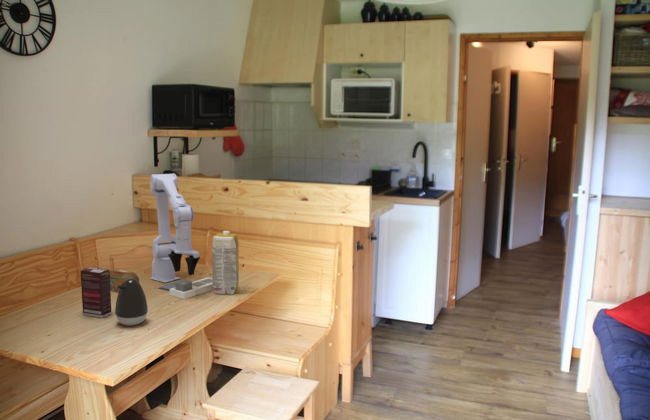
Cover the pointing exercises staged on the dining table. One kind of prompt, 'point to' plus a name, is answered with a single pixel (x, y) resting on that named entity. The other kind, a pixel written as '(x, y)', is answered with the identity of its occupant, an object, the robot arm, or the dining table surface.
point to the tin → (120, 278)
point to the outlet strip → (194, 288)
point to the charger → (183, 286)
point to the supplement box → (96, 292)
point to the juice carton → (225, 263)
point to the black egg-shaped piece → (131, 303)
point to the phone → (171, 285)
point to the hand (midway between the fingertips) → (184, 272)
